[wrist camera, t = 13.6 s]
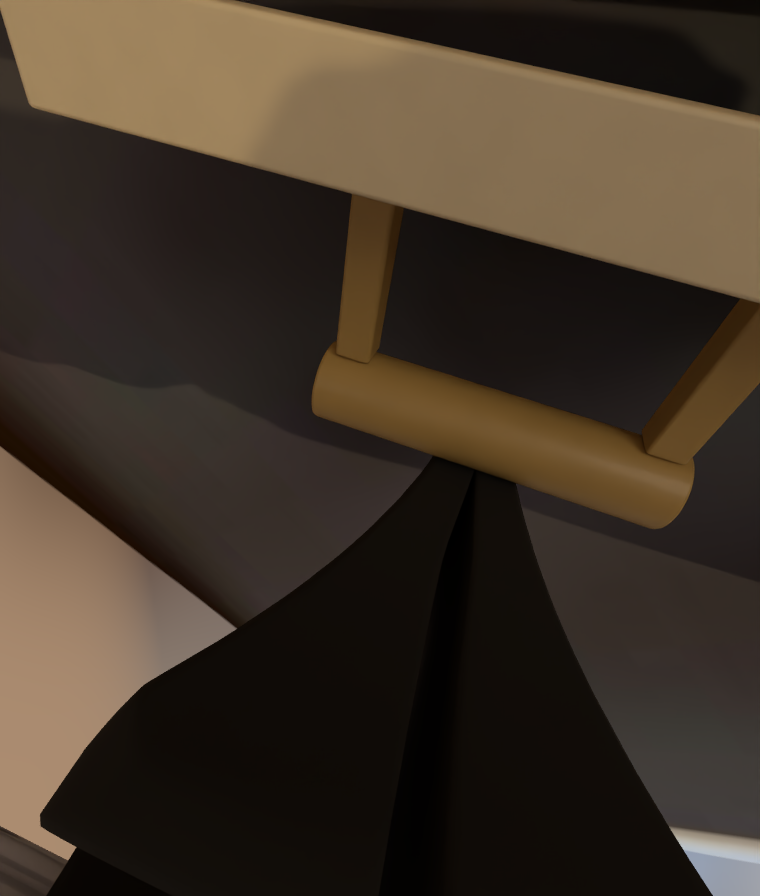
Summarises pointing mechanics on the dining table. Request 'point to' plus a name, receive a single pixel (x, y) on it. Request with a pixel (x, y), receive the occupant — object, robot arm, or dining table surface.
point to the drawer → (445, 205)
